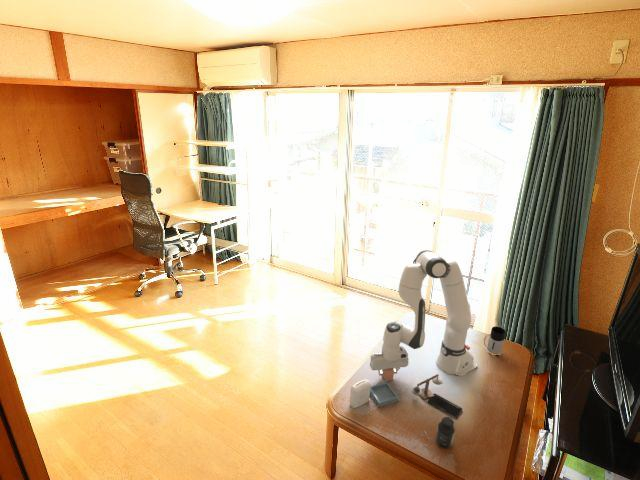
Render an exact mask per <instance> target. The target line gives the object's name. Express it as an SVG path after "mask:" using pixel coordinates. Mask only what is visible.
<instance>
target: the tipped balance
mask: <svg viewBox="0 0 640 480" xmlns="http://www.w3.org/2000/svg"><path fill="white" fill-rule="evenodd" d="M439 376H440V375H439V373H436V374H435V375H433V376H431V377H428V378H426V379H425V380H423V381H421V382H419V383H417V385H416V386H414V387H413V388H411V394H412V395H414V396H415V397H419V396H420V397H421V399H423V401H425V400H428V399H429V398H430V397H434V393H433V392H432V391H431V389H429V387H430V383H431V382H430V381H432V383H433V384H434V385H436V386H437V385H439V386H440V385H442V384H443V379H442V377H439ZM422 385H424V387H423V388H421V387H420V386H422Z"/></svg>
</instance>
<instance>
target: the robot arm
mask: <svg viewBox="0 0 640 480" xmlns="http://www.w3.org/2000/svg"><path fill="white" fill-rule="evenodd" d="M427 275H428V276H429V277H430V278H433V279H439V282H440V285H441V289H442V293H443V298H444V303H445V311H446V313H447V314H446V315H447V317H446V323H445V329H444V335H443V340H442V341H441V345H440V346H441V347H440V350H439V352H438V353H437V358H436V361H435V362H436V365H437V367H438V368H439V369H440V370H441V371H442V372H445V373H447V374H452V375H455V374H456V376H457V375H458V377H462V376H464V375H466V374H468V373H470V372H471V370H472V371H474V370H475V369H474V368H476V367H477V368H478V364H477V362H476V361H475V360H474V358H475V357H474V355H473V354H472V353H471V352H470V350H471V347H470V346H469V345H468V344H467V345H466V341H467V340H466V339H467V335H468V330H469V329H470V327H471V324H472V314H471V312H472V311H471V305H470V303H469V301H468V300H469V299H468V296H467V290H466V286H465V285H466V284H465V282H464V277H463V273H462V270H461V268H460V266H459V263H457V261H456V260H453V259H446V260H445V259H444V258H442V257H441V256H440V255H439V254H437V253H435V252H433V250H426V249H425V250H422V251H420V252H419V253H417V255H416V257H415V258H414V260H413V261H412V263H409V264H407V265H406V266H405V267H404V269H403V271H402V273H401V276H400V277H401V278H400V280H399V283H398V295H399V297H400V299H401V300H402V301H403V302H404V303H405V304H406V305H408V306H409V307H410V309H412V311H413V313H414V327H413V326H411V325H409V324H407V323H404V322H402V321H399V320H396V321H393V322H388V323H387V324H386V326H385V328H384V331H383V339H382V340H383V342H382V345H381V346H382V347H381V352H379V353H373V354H372V355H371V356H370V362H369V367H370V369H371V371H378V375H379V376H382V369H391V368H393V369H394V375H396V374H398V371H399V370H400V369H401V368H406V367H407V366H409V353H408V352H407V350H406V348H405V347H404V346H400V345H401V343H402V344H404V345H405V346H408V347H409V348H411V349H413V350H417V349H420V348H422V347H423V345H424V344H425V339H426V336H425V335H426V333H425V323H426V300H424V299H423V295H422V288H423V282H424V280H425V278H426V277H427ZM474 363H475V364H474ZM477 368H476V369H477ZM473 369H474V370H473ZM469 371H470V372H469ZM467 372H468V373H467Z"/></svg>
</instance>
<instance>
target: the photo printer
mask: <svg viewBox="0 0 640 480" xmlns="http://www.w3.org/2000/svg"><path fill="white" fill-rule="evenodd" d="M371 386H372V384H371V381H370V380H369V379H362V380H360V381H358V382H356V383H354V384H353V385H352V386H351V387H350V397H349V405H350V407H351V408H352V409H356V408H358V407H360V406H363V405H364V404H366V403H368V402H369V401H370V397H371V395H370V387H371Z"/></svg>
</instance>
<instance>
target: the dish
mask: <svg viewBox="0 0 640 480" xmlns="http://www.w3.org/2000/svg"><path fill="white" fill-rule="evenodd" d="M370 397H372V399H373V401H374V402H375V404H376V406H377V407H378V408H379V407H384V406H387V405H390V404H394V403H397V402H399V401H400V400H399V399H400V397H399V396H398V393H396V391H395V390H394V388H393V387H392V386H391V385H390V383H389V382H388V381H385V382H382V383H378V384H374V385H371V387H370Z"/></svg>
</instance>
